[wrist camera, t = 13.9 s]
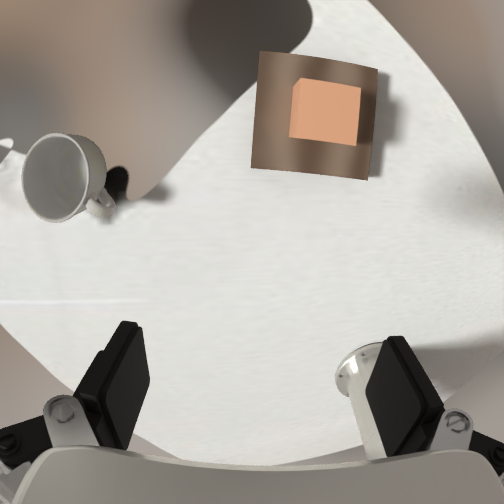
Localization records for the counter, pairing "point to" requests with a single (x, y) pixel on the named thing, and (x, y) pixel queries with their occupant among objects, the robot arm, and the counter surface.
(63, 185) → the teacup
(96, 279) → the counter surface
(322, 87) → the terracotta cube
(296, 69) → the walnut base
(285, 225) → the counter surface
